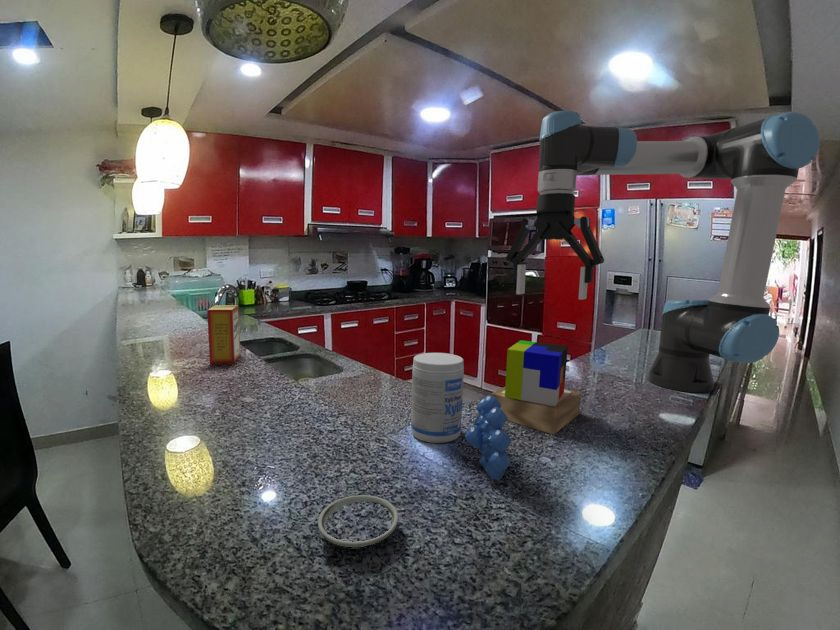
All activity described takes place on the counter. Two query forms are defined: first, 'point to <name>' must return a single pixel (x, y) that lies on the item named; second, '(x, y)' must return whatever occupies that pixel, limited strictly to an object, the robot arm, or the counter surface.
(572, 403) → the oak picture frame
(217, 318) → the baking soda box
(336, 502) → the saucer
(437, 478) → the counter surface
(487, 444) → the grapes
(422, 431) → the supplement tub
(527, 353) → the puzzle toy
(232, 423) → the counter surface
